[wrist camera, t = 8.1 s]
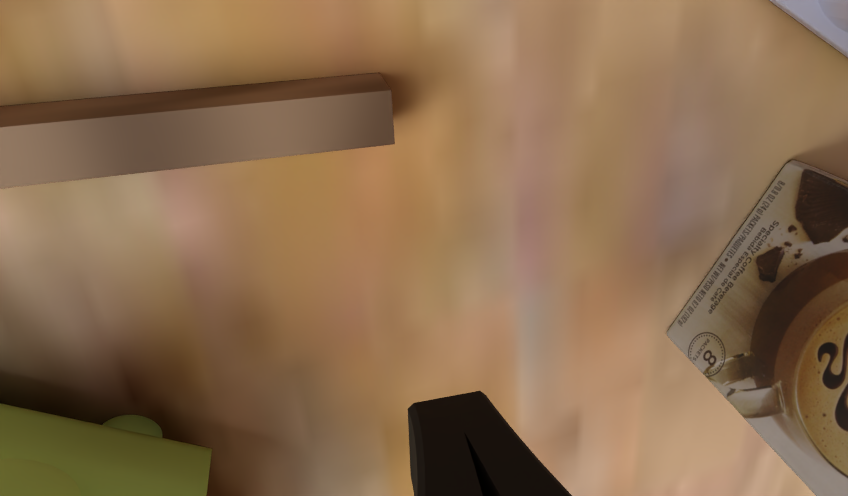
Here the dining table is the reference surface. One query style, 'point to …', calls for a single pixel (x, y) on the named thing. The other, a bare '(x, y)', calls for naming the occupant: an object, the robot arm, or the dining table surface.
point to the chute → (191, 128)
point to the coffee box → (783, 324)
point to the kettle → (95, 457)
